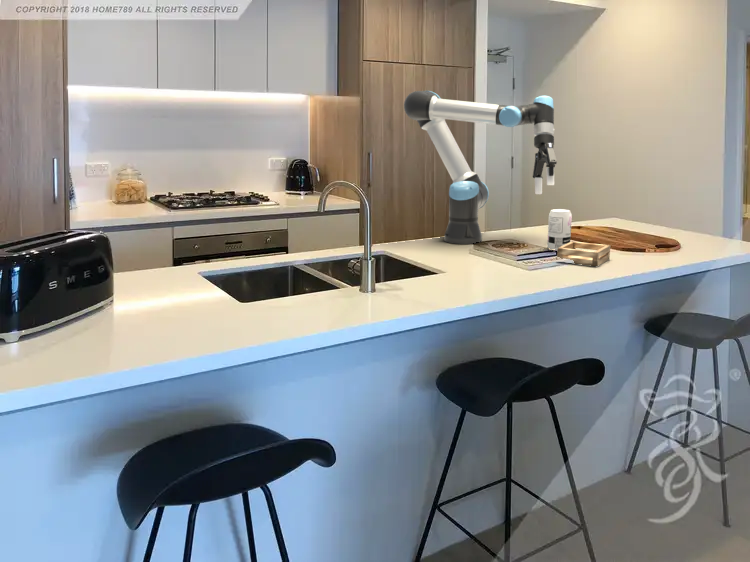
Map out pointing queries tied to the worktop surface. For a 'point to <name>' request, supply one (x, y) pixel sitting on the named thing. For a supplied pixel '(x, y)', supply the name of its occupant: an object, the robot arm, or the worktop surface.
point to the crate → (585, 253)
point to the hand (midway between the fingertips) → (544, 189)
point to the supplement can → (559, 228)
